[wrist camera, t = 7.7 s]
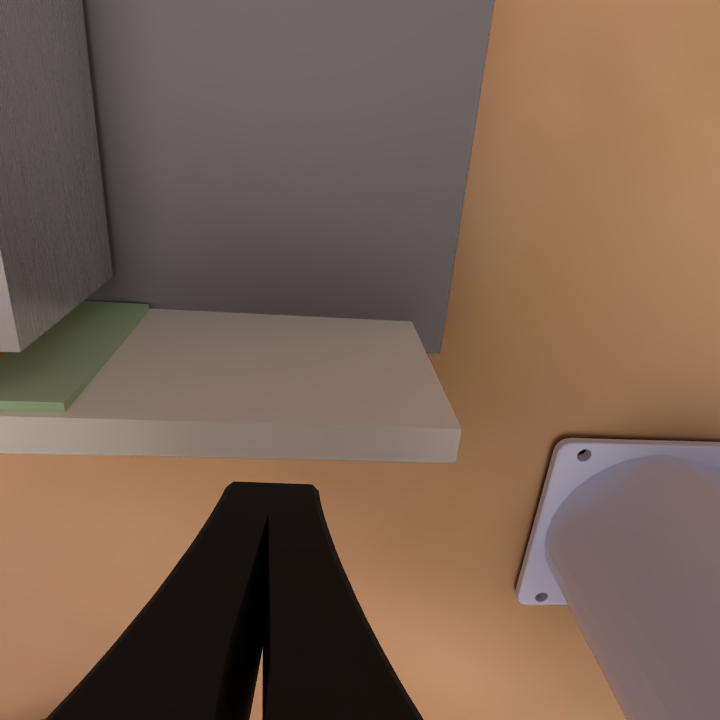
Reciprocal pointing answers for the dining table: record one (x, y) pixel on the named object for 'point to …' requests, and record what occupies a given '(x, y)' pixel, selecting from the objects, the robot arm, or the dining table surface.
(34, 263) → the grey rectangular block
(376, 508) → the dining table surface
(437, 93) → the base
